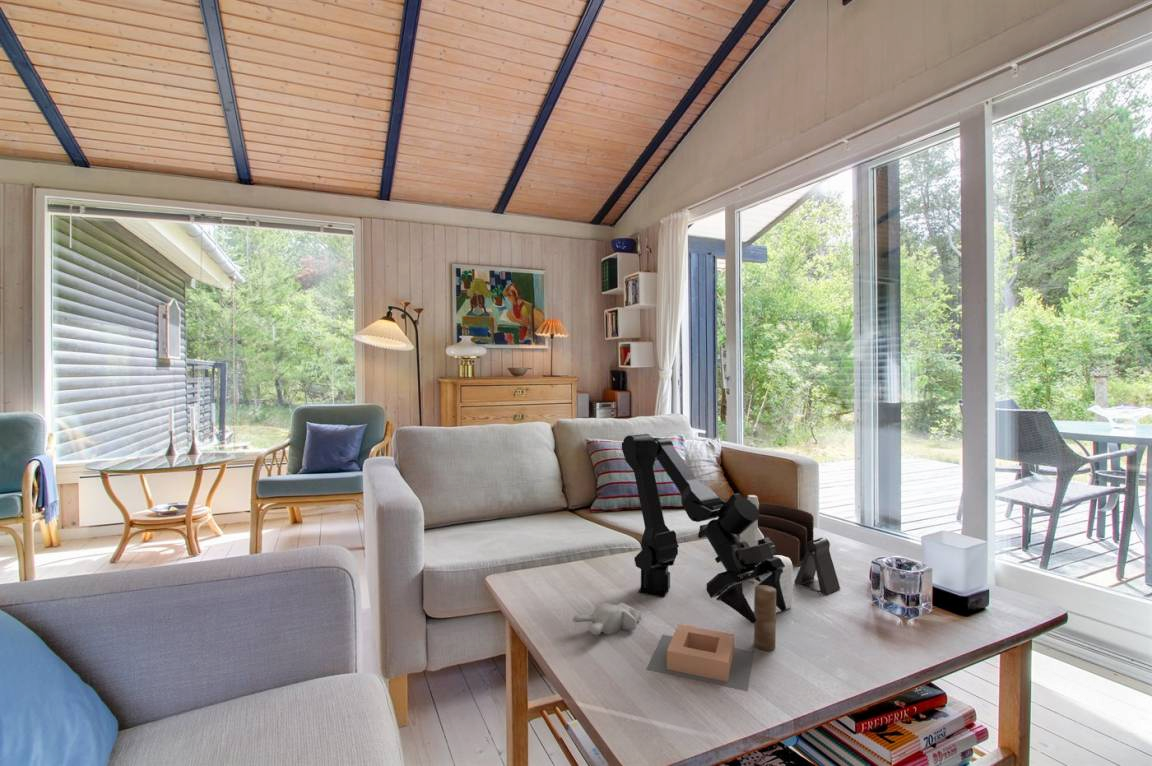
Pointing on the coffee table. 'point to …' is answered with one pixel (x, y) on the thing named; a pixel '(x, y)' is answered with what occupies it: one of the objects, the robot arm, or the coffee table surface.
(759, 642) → the walnut peg
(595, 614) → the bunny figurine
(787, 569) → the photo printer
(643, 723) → the coffee table surface
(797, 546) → the letter holder
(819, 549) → the phone stand
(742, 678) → the mat
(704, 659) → the socket block
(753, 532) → the faceted bottle
